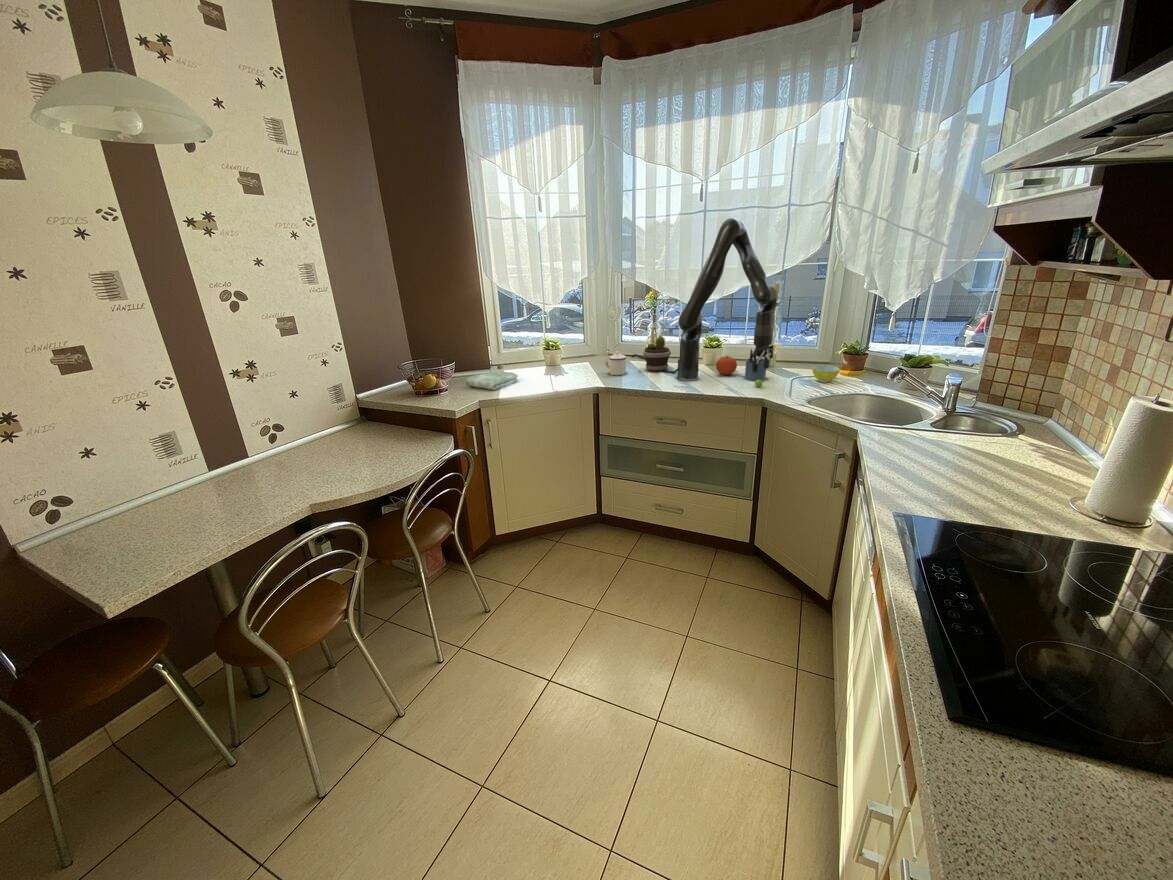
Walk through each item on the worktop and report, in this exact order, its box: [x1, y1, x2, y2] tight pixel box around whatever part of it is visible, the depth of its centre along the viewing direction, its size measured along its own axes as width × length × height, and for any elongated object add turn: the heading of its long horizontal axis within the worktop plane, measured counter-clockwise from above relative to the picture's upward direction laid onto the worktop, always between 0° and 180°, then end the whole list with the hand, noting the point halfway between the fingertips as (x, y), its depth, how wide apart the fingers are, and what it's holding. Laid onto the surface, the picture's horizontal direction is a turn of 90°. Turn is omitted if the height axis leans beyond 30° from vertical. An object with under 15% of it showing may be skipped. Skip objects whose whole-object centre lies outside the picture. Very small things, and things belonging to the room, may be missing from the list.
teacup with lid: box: [605, 351, 627, 376], centre depth 253 cm, size 12×9×12 cm
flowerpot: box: [642, 334, 672, 373], centre depth 254 cm, size 14×15×20 cm
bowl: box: [812, 365, 841, 383], centre depth 220 cm, size 11×12×6 cm
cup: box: [744, 357, 767, 382], centre depth 231 cm, size 9×9×9 cm
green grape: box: [754, 380, 764, 388], centre depth 217 cm, size 3×3×3 cm
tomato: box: [715, 355, 738, 376], centre depth 240 cm, size 10×10×10 cm
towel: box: [465, 370, 519, 391], centre depth 244 cm, size 18×21×5 cm
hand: (760, 370), depth 215 cm, fingers open, 8 cm apart
